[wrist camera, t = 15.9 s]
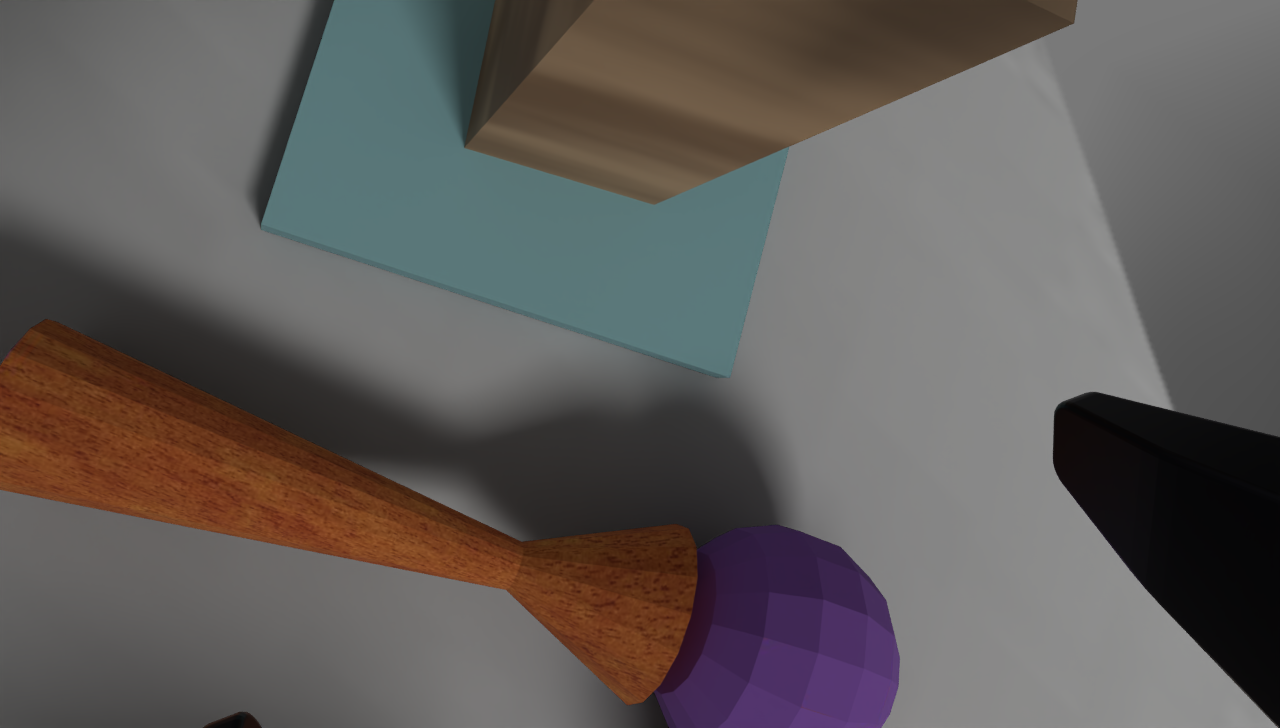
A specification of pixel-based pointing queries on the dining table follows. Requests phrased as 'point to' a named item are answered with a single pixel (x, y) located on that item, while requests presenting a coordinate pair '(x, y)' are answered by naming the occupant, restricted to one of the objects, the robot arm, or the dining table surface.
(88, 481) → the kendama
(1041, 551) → the dining table surface
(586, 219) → the teal mat
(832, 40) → the walnut brick
